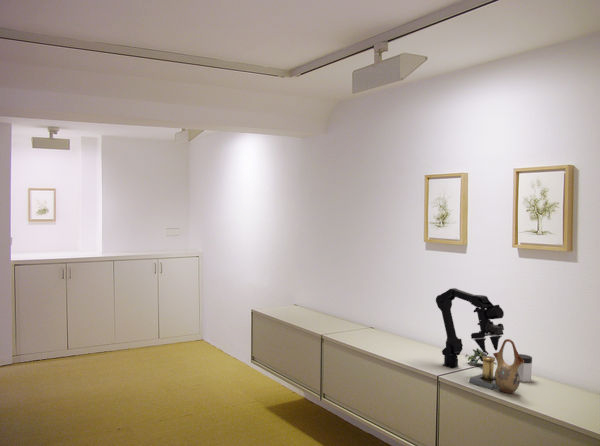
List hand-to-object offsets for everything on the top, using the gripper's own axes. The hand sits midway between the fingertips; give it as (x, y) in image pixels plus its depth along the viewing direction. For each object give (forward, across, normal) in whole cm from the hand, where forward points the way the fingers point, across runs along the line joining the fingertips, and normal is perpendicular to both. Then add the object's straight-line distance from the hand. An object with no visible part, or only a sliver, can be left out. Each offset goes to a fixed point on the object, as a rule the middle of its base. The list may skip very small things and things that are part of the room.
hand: (490, 351), depth 267 cm
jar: (+16, +16, -4) cm, 23 cm away
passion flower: (+9, +16, +23) cm, 29 cm away
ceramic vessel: (+18, -8, -11) cm, 23 cm away
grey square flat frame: (+15, -7, 0) cm, 16 cm away
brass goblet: (+15, -7, 0) cm, 16 cm away
